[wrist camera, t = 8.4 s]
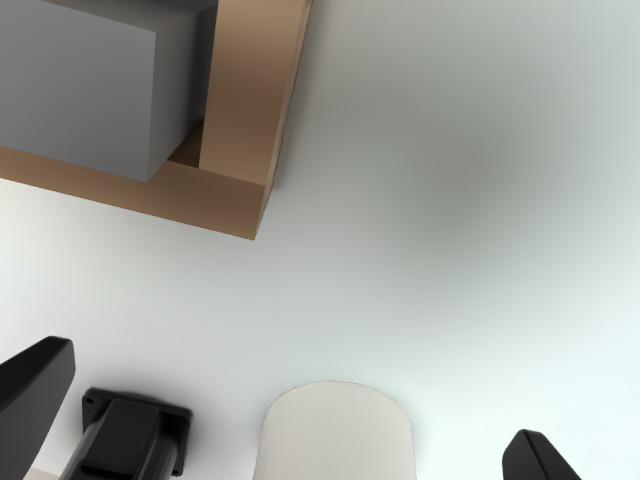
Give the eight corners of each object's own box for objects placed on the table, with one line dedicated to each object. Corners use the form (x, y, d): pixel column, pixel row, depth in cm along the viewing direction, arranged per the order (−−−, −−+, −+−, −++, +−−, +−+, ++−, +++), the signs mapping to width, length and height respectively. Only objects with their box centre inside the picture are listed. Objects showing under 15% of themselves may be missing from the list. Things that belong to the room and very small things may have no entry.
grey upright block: (212, 106, 19) (146, 182, 13) (111, 79, 19) (-1, 145, 13) (226, -2, 17) (155, 32, 11) (113, -34, 17) (-20, -17, 11)
